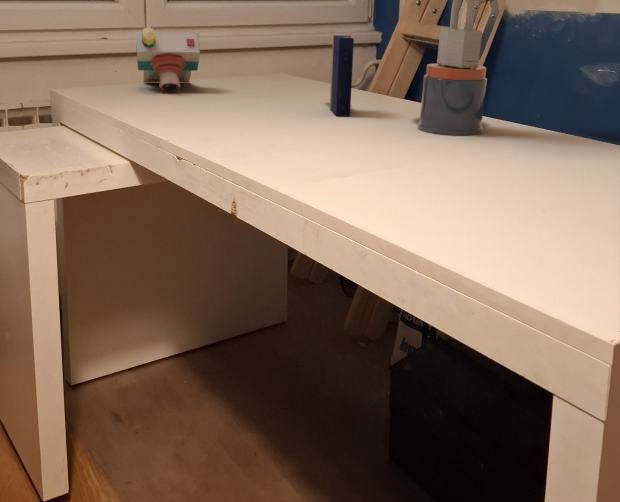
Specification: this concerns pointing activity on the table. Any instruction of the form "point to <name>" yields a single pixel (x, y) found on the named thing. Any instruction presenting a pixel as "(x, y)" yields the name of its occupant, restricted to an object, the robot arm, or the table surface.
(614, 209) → the table surface
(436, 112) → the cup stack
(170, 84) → the toy camera
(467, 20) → the padlock
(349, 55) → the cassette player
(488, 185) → the table surface
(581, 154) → the table surface
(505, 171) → the table surface
